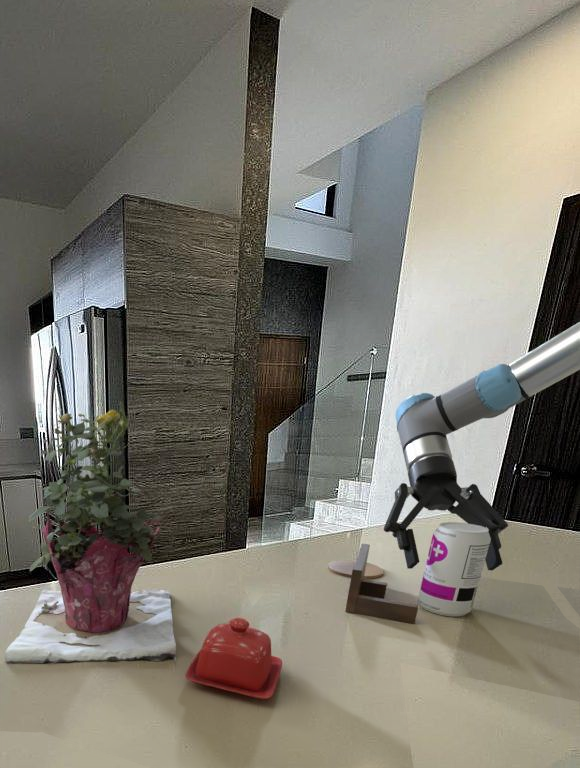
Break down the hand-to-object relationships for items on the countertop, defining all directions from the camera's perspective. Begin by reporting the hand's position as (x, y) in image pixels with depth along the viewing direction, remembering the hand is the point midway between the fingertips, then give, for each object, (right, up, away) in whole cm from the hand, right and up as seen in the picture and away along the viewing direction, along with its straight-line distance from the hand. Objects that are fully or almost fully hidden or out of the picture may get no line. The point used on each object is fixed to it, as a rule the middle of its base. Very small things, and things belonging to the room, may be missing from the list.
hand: (454, 566), depth 83 cm
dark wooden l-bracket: (-9, -6, +7) cm, 13 cm away
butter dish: (-42, -16, -18) cm, 48 cm away
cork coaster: (-7, 0, +23) cm, 24 cm away
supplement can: (0, -8, +3) cm, 8 cm away
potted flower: (-61, -10, -2) cm, 62 cm away
